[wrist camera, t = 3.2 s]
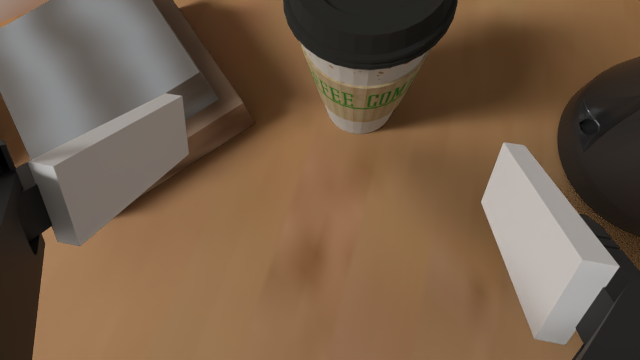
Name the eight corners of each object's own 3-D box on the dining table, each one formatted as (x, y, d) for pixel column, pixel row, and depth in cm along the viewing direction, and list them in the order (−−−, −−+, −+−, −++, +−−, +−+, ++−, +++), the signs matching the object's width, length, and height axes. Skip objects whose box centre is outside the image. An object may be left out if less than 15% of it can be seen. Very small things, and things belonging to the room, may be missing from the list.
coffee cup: (316, 162, 31) (292, 65, 17) (298, 67, 34) (265, -87, 20) (425, 141, 31) (494, 25, 17) (399, 47, 34) (439, -122, 20)
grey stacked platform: (176, 8, 37) (132, -62, 29) (255, 123, 33) (227, 75, 25) (38, 90, 36) (-47, 38, 28) (102, 220, 31) (24, 202, 24)
